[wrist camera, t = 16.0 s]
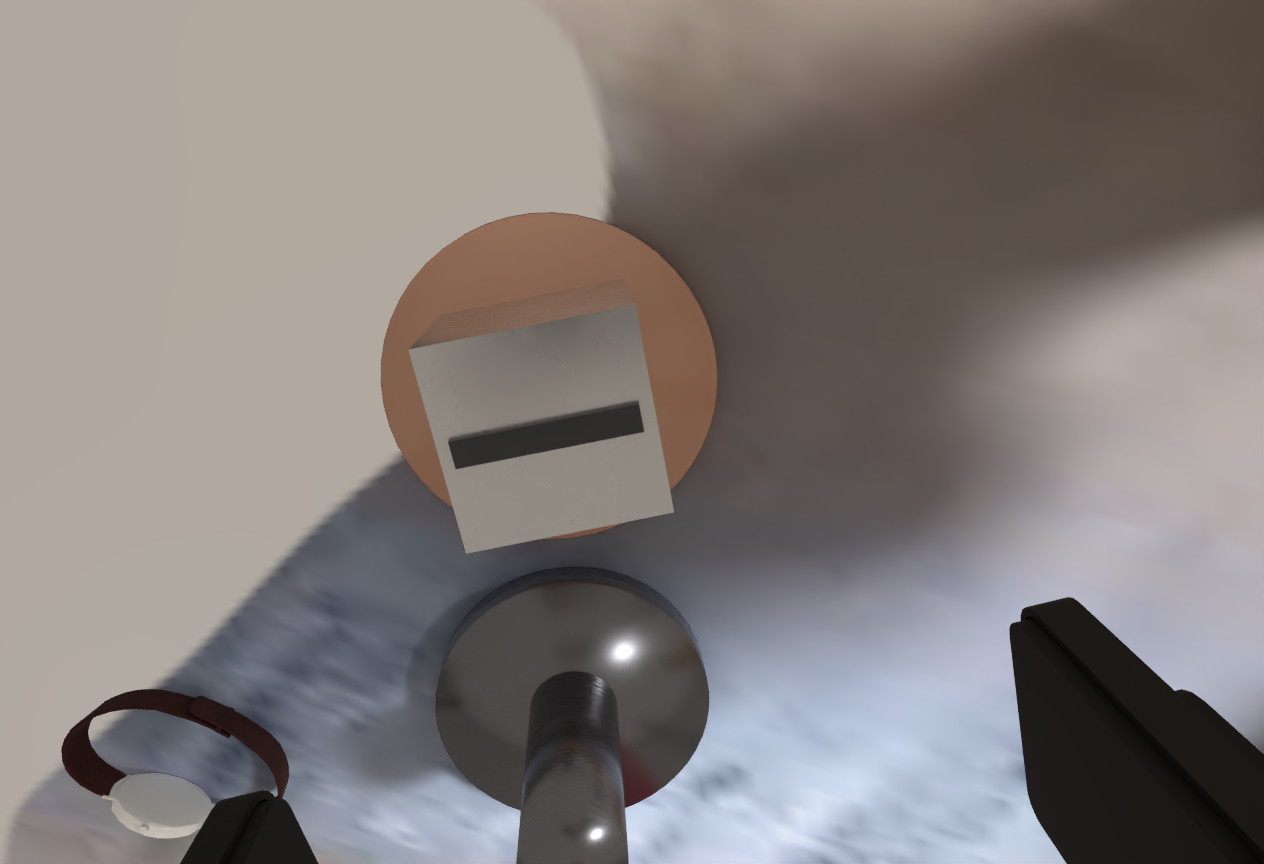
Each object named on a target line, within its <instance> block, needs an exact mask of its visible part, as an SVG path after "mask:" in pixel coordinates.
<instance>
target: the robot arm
mask: <svg viewBox="0 0 1264 864" xmlns="http://www.w3.org/2000/svg"><path fill="white" fill-rule="evenodd" d="M1009 631H1010V643H1011V651H1012V660H1013V669H1014V677H1015V686H1016V695H1017V704H1018V712H1019V721H1020V730H1021V738H1022V747H1023V756H1024V765H1025V773H1026V782H1027V790H1028V795H1029V799H1030V802H1031V805H1032V808H1033V810H1034V813H1035V815H1036V817H1037V819H1038V821H1039V822H1040V824H1041V826H1042V827H1043V829H1044V830H1045V832H1046V833H1047V835H1048V836H1049V838H1050V839H1051V841H1052V842H1053V844H1054V845H1055V847H1056V848H1057V850H1058V851H1059V853H1060V854H1061V856H1062V857H1063V859H1064V860H1065V862H1066V863H1067V864H1264V754H1263V753H1261V752H1260V751H1259V750H1258V749H1257V748H1256V747H1255V746H1254V745H1253V744H1251V743H1250V742H1249V741H1248V740H1247V739H1246V738H1245V737H1244V736H1243V735H1241V734H1240V733H1239V732H1238V731H1237V730H1236V729H1235V728H1234V727H1233V726H1231V725H1230V724H1229V723H1228V722H1227V721H1226V720H1225V719H1224V718H1223V717H1221V716H1220V715H1219V714H1218V713H1217V712H1216V711H1215V710H1214V709H1213V708H1211V707H1210V706H1209V705H1208V704H1207V703H1206V702H1205V701H1203V700H1202V699H1201V698H1199V697H1198V696H1197V695H1195V694H1194V693H1192V692H1189V691H1186V690H1182V689H1181V690H1177V691H1174V690H1173V689H1172V688H1171V687H1170V686H1169V685H1168V684H1167V683H1165V682H1164V681H1163V680H1162V679H1161V678H1160V677H1159V676H1158V675H1157V674H1156V673H1155V672H1154V671H1153V670H1151V669H1150V668H1149V667H1148V666H1147V665H1146V664H1145V663H1144V662H1143V661H1142V660H1141V659H1140V658H1139V657H1137V656H1136V655H1135V654H1134V653H1133V652H1132V651H1131V650H1130V649H1129V648H1128V647H1127V646H1126V645H1125V644H1123V643H1122V642H1121V641H1120V640H1119V639H1118V638H1117V637H1116V636H1115V635H1114V634H1113V633H1112V632H1111V631H1109V630H1108V629H1107V628H1106V627H1105V626H1104V625H1103V624H1102V623H1101V622H1100V621H1099V620H1098V619H1097V618H1095V617H1094V616H1093V615H1092V614H1091V613H1090V612H1089V611H1088V610H1087V609H1086V608H1085V607H1084V606H1083V605H1081V604H1080V603H1079V602H1078V601H1077V600H1075V599H1074V598H1070V597H1067V598H1063V599H1059V600H1055V601H1050V602H1046V603H1042V604H1038V605H1034V606H1030V607H1025V608H1024V609H1023V610H1022V613H1021V621H1020V622H1016V623H1012V624H1011V625H1010V629H1009ZM180 864H318V862H317V860H316V858H315V856H314V854H313V852H312V850H311V848H310V846H309V844H308V842H307V840H306V838H305V836H304V834H303V832H302V830H301V827H300V825H299V823H298V821H297V819H296V817H295V815H294V813H293V811H292V809H291V807H290V806H289V804H288V803H287V801H285V800H284V799H276V798H275V797H274V795H273V794H272V793H270V792H269V791H263V790H262V791H258V792H254V793H249V794H245V795H241V796H237V797H233V798H229V799H224V800H222V801H220V802H218V803H216V805H215V806H214V807H213V809H212V810H211V811H210V813H209V815H208V817H207V818H206V820H205V822H204V824H203V825H202V827H201V829H200V830H199V832H198V834H197V836H196V837H195V839H194V841H193V842H192V844H191V846H190V848H189V849H188V851H187V853H186V854H185V856H184V858H183V860H182V861H181V863H180Z"/></svg>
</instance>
